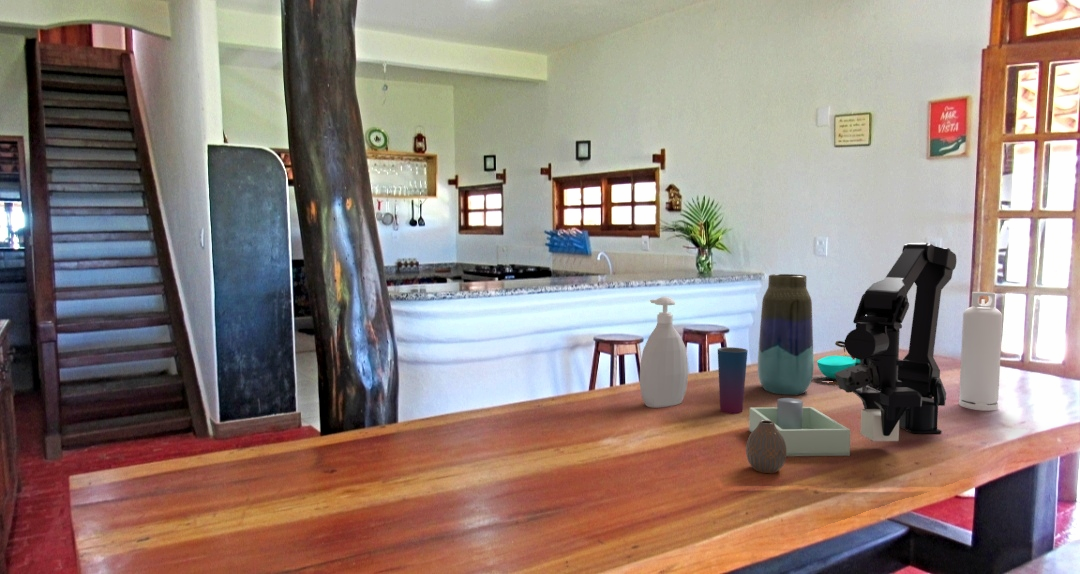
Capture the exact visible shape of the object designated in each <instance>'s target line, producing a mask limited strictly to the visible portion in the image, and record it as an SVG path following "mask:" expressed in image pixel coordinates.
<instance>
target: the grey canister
mask: <svg viewBox="0 0 1080 574" xmlns="http://www.w3.org/2000/svg"><path fill="white" fill-rule="evenodd" d="M776 400H777V402H776V403H777V404H776V405H777V406H776V407H777V426H779V427H780V428H781V429H802V416H803V407H804V401H803V400H801V399H798V398H791V397H783V398H777V399H776Z"/></svg>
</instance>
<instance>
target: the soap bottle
mask: <svg viewBox="0 0 1080 574" xmlns="http://www.w3.org/2000/svg"><path fill="white" fill-rule="evenodd" d="M649 301H650V304H655V305H657V306H662V311H661V312H658V314H657V315H656V316H657V317H656V320H657V323H656V325H655V327H654V328H653V331H652V332H651V333H650V335H649V336H648V338H647V341H646V343H645V346H644V347H643V350H642V355H641V360H640V369H639V387H640V395H641V398H642V401H643V402H644V404H645V405H646V406H647V407H648V408H651V409H652V408H653V409H654V408H655V409H656V408H657V409H658V408H659V409H660V408H667V407H673V406H676V405H680V404H681V403H682V402H683V400H684V398H685V395H686V393H687V389H688V387H687V386H688V382H689V381H688V379H689V363H688V354H687V348H686V345H685V343H684V341H683V339H682V337H681V334H680V333H679V332H678V331H677V330H676V328H675V327H674V326H675V325H674V322H673V321H674V319H673V317H674V316H673V314H672V313H671V312H668V306H675V305H676V302H675V300H674V299H672V297H669V296H661V297H659V298H656V299H650V300H649Z"/></svg>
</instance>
